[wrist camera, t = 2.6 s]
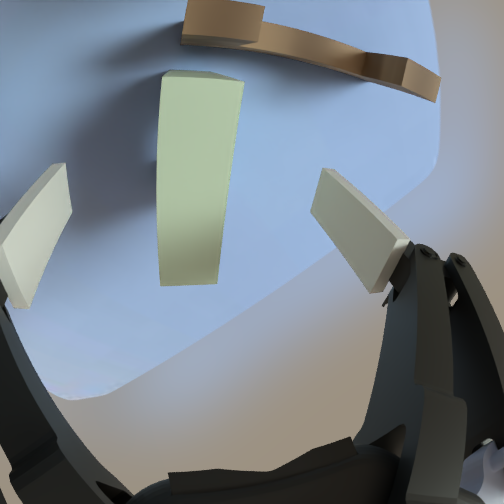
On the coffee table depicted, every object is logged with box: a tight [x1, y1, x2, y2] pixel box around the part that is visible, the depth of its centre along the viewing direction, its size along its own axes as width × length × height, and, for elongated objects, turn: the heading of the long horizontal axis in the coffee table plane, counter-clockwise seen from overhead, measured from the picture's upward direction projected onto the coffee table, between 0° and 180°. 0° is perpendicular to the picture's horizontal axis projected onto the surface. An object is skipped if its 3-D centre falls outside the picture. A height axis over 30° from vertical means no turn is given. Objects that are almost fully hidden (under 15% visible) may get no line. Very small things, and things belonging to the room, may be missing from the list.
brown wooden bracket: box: [180, 0, 441, 103], centre depth 14 cm, size 16×2×8 cm, turn 81°
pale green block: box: [156, 70, 244, 286], centre depth 16 cm, size 10×3×11 cm, turn 171°
